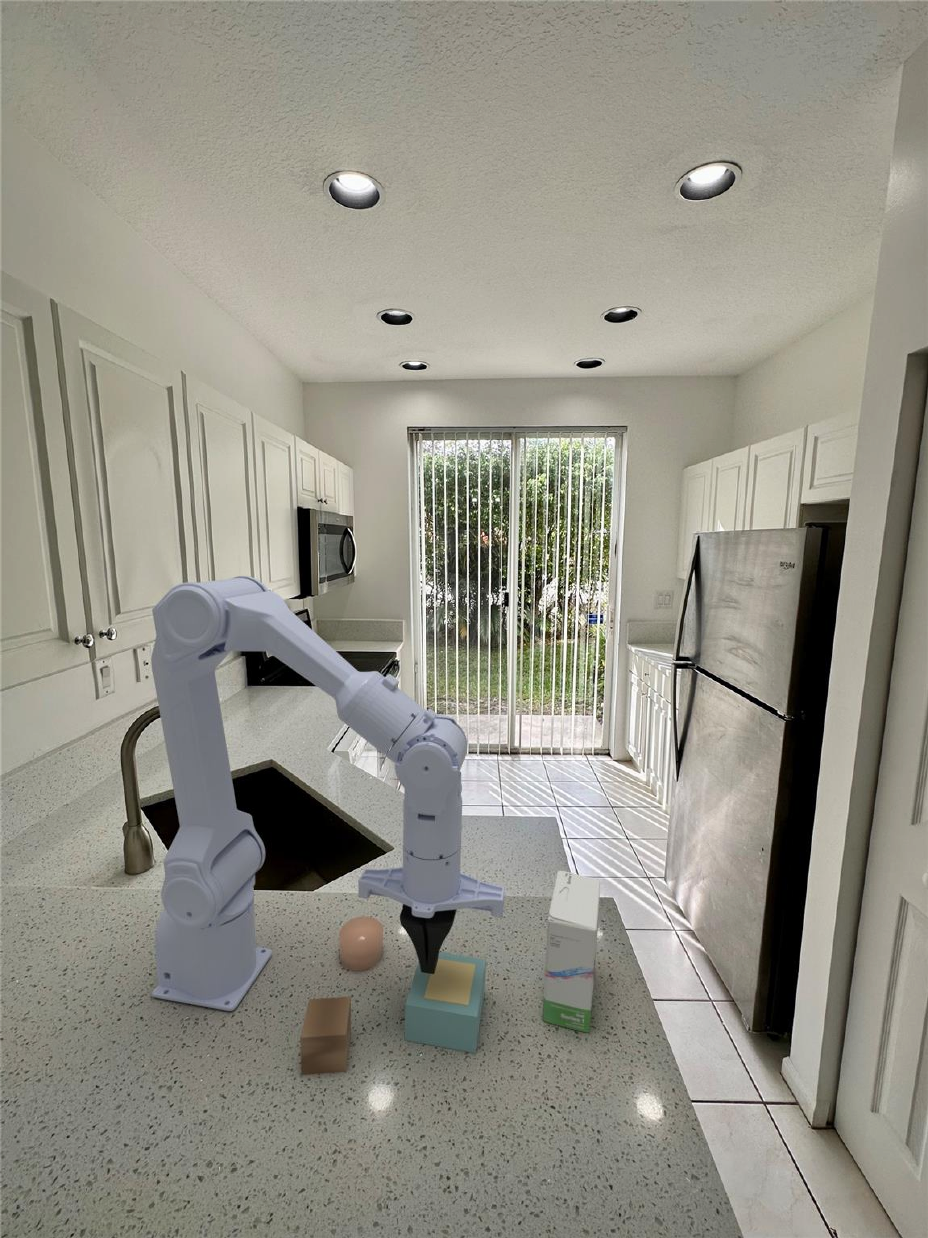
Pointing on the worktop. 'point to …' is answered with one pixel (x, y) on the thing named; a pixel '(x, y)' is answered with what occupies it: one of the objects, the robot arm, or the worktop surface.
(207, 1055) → the worktop surface
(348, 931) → the peach rounded dome
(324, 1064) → the walnut cube
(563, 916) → the ink box
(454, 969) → the teal block
